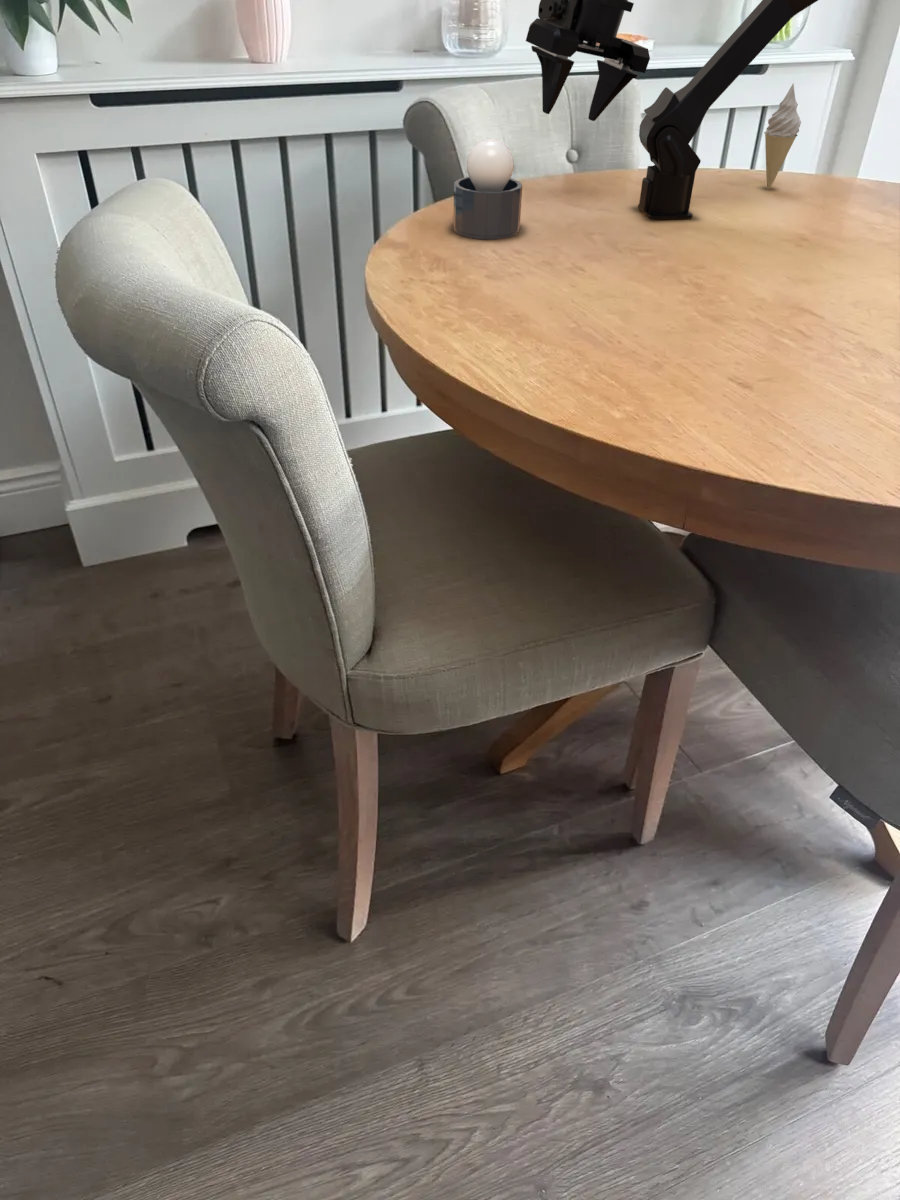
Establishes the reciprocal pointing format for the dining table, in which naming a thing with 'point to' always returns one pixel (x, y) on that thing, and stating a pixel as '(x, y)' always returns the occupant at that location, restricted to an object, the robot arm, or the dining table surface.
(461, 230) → the tube
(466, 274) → the dining table surface
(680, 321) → the dining table surface
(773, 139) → the ice cream cone
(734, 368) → the dining table surface
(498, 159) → the lightbulb
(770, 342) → the dining table surface
